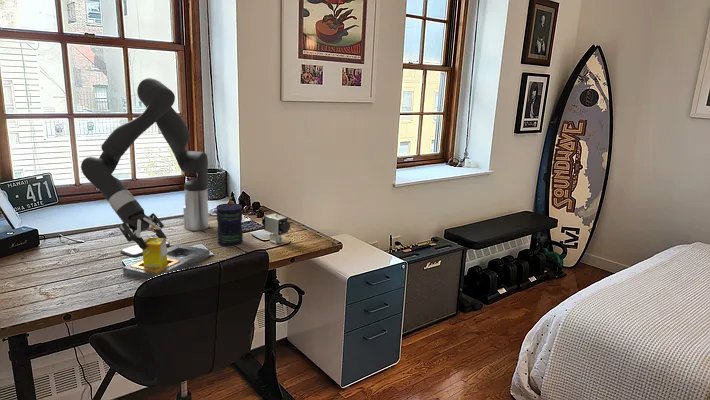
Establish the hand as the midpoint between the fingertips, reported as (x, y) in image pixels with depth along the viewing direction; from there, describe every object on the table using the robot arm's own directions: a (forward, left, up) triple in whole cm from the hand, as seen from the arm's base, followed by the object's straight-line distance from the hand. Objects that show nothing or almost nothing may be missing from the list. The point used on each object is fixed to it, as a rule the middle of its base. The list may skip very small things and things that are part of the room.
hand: (155, 244), depth 160 cm
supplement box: (0, 0, -10) cm, 10 cm away
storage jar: (+5, +35, -10) cm, 37 cm away
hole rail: (0, +6, -10) cm, 11 cm away
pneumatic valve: (+21, +44, -10) cm, 50 cm away
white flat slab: (-19, +14, -10) cm, 26 cm away
